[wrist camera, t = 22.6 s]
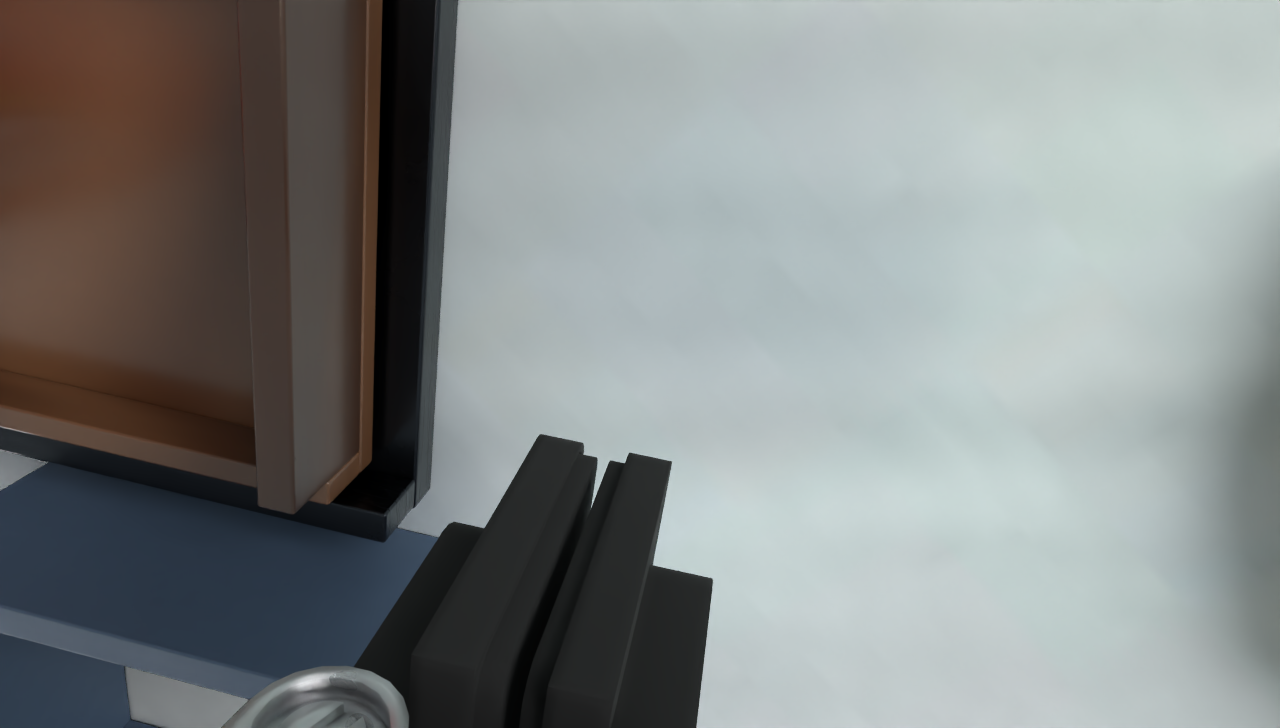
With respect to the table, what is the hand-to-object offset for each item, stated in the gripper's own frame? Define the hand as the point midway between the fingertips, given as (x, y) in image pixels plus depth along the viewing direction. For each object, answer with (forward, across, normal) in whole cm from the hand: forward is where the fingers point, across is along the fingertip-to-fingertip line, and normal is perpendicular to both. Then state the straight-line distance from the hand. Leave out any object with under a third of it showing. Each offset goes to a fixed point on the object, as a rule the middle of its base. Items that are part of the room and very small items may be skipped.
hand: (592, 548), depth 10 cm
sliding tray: (+8, +16, -1) cm, 18 cm away
